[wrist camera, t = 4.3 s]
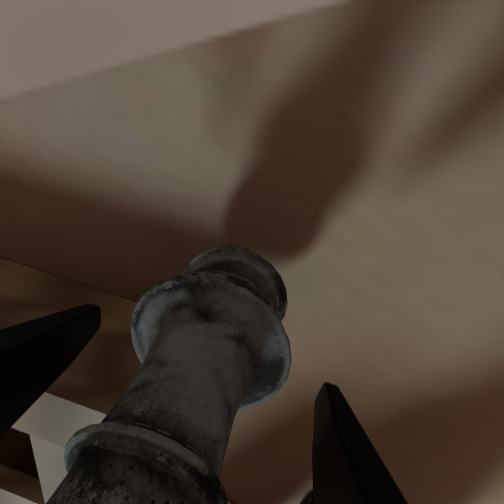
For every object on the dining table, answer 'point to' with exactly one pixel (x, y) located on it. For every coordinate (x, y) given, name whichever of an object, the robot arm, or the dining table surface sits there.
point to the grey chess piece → (185, 385)
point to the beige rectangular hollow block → (61, 380)
